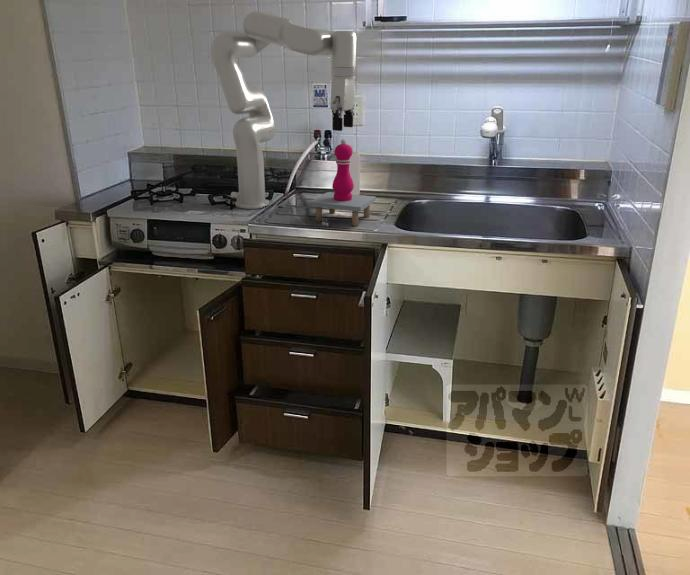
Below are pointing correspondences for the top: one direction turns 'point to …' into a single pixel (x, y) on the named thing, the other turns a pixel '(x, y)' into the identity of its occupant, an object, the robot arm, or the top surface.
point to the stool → (343, 205)
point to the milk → (355, 171)
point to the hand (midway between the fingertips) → (342, 128)
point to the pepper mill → (343, 173)
